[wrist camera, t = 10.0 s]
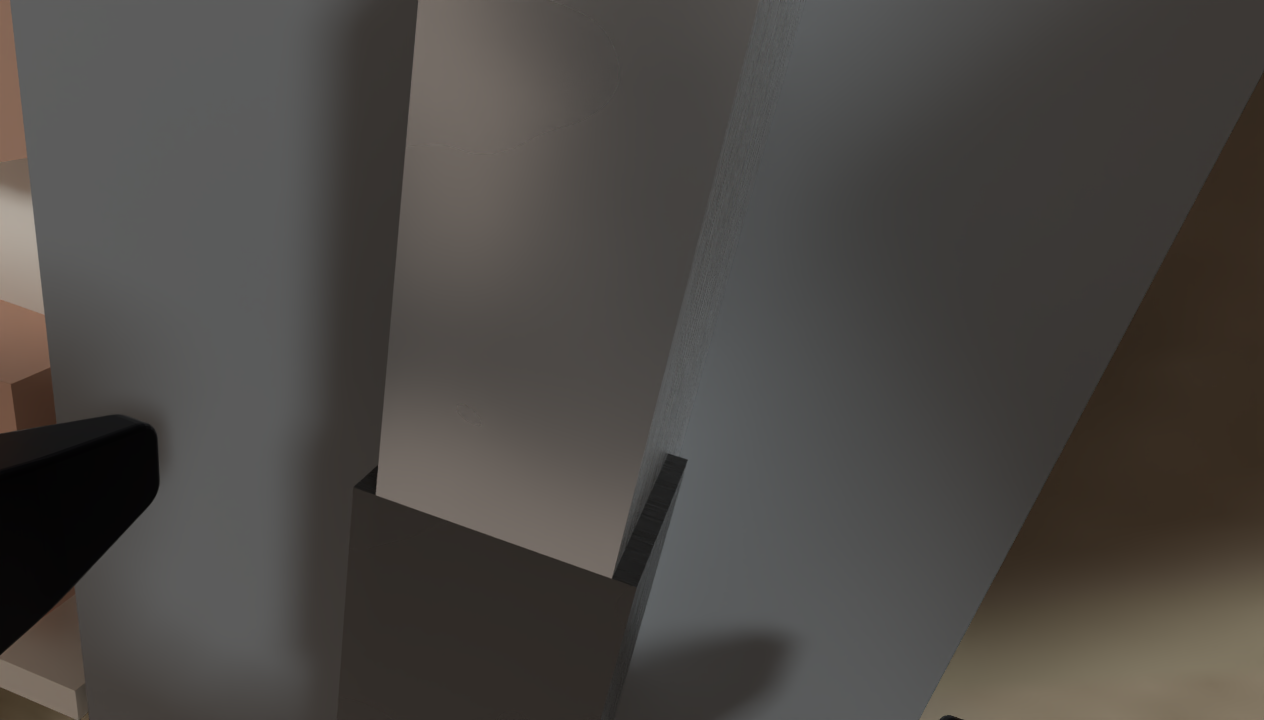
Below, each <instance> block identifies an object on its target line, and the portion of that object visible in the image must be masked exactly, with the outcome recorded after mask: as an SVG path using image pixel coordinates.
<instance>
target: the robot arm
mask: <svg viewBox="0 0 1264 720" xmlns="http://www.w3.org/2000/svg"><path fill="white" fill-rule="evenodd" d="M159 486H160V472H159V450H158V435H157V432H156V430H155V429H154V427H153V426H151V425H150V424H148V423H146V422H143V421H141V420H138V419H135V418H132V417H130V416H127V415H122V414H112V415H106V416H100V417H94V418H88V419H82V420H77V421H71V422H65V423H59V424H53V425H47V426H41V427H35V428H29V429H23V430H17V431H11V432H5V433H0V655H1V654H3V653H4V652H5V651H6V650H7V649H8V648H9V647H10V646H12V645H13V644H14V643H15V642H16V641H17V640H18V639H19V638H21V637H22V636H23V635H24V634H25V633H26V632H27V631H28V630H29V629H31V628H32V627H33V626H34V625H35V624H36V623H37V622H38V621H39V620H40V619H42V618H43V617H44V616H45V615H46V614H47V613H48V612H49V611H50V610H51V609H52V608H53V607H54V606H55V605H56V604H57V603H58V602H59V601H60V600H61V599H62V598H63V597H64V596H65V595H66V594H67V593H68V592H69V591H70V590H71V589H72V588H73V587H74V586H75V585H76V584H77V583H78V582H79V580H80V579H81V578H82V577H83V576H84V575H85V574H86V573H87V572H88V571H89V570H90V569H91V568H92V567H93V566H94V564H95V563H96V562H97V561H98V560H99V559H100V558H101V557H102V556H103V555H104V554H105V553H106V552H107V551H108V550H109V548H110V547H111V546H112V545H113V544H114V543H115V542H116V541H117V540H118V539H119V538H120V537H121V536H122V535H123V534H124V532H125V531H126V530H127V529H128V528H129V527H130V526H131V525H132V524H133V523H134V522H135V521H136V520H137V519H138V518H139V516H140V515H141V514H142V513H143V512H144V511H145V510H146V509H147V508H148V507H149V506H150V504H151V503H152V502H153V500H154V499H155V497H156V495H157V492H158V490H159ZM940 720H963V719H960V718H957V717H954V716H951V715H947V716H943V717H942V718H941V719H940Z"/></svg>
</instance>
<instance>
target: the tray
mask: <svg viewBox="0 0 1264 720" xmlns="http://www.w3.org/2000/svg"><path fill="white" fill-rule="evenodd" d="M0 299H1V300H3V301H6V302H9V303H12V304H15V305H18V306H21V307H23V308H26V309H29V310H32V311H35V312H38V313H41V314H43V315H45V314H44V305H43V296H42V286H41V277H40V268H39V259H38V250H37V241H36V232H35V223H34V214H33V205H32V196H31V187H30V178H29V168H28V159H27V158H24V159H17V160H11V161H5V162H0ZM0 687H1V688H4V689H6V690H8V691H11V692H13V693H15V694H18V695H20V696H22V697H25V698H27V699H29V700H31V701H34V702H36V703H38V704H41V705H43V706H45V707H48V708H50V709H52V710H55V711H57V712H59V713H62V714H64V715H66V716H69V717H71V718H73V719H76V720H80V719H81V718H82V717H84V716H85V715H86V714H87V713H88V704H87V695H86V686H85V677H84V668H83V659H82V649H81V640H80V631H79V622H78V613H77V604H76V595H74V596H72V597H71V598H69V599H68V600H67V601H65V602H64V603H63V604H61V605H60V606H58V607H57V608H56V609H54V610H53V611H51V612H50V613H49V614H47V615H46V616H45V617H43V618H42V619H40V620H39V621H38V622H37V623H36V624H35V625H34V626H33V627H32V628H31V629H29V630H28V631H27V632H26V633H25V634H24V635H23V636H22V637H21V638H19V639H18V640H17V641H16V642H15V643H14V644H13V645H12V646H10V647H9V648H8V649H7V650H6V651H5V652H4V653H3V654H1V655H0Z"/></svg>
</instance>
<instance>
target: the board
mask: <svg viewBox="0 0 1264 720" xmlns="http://www.w3.org/2000/svg"><path fill="white" fill-rule="evenodd" d="M10 5H11V14H12V23H13V32H14V41H15V50H16V60H17V69H18V78H19V87H20V96H21V105H22V114H23V123H24V132H25V141H26V150H27V159H28V168H29V178H30V187H31V196H32V205H33V214H34V223H35V232H36V241H37V250H38V259H39V268H40V277H41V286H42V296H43V305H44V314H45V323H46V332H47V341H48V350H49V359H50V368H51V377H52V386H53V395H54V404H55V413H56V423H57V424H59V423H65V422H71V421H77V420H82V419H88V418H94V417H100V416H106V415H112V414H122V415H127V416H130V417H132V418H135V419H138V420H141V421H143V422H146V423H148V424H150V425H151V426H153V427H154V429H155V430H156V432H157V435H158V450H159V472H160V486H159V490H158V492H157V495H156V497H155V499H154V500H153V502H152V503H151V504H150V506H149V507H148V508H147V509H146V510H145V511H144V512H143V513H142V514H141V515H140V516H139V518H138V519H137V520H136V521H135V522H134V523H133V524H132V525H131V526H130V527H129V528H128V529H127V530H126V531H125V532H124V534H123V535H122V536H121V537H120V538H119V539H118V540H117V541H116V542H115V543H114V544H113V545H112V546H111V547H110V548H109V550H108V551H107V552H106V553H105V554H104V555H103V556H102V557H101V558H100V559H99V560H98V561H97V562H96V563H95V564H94V566H93V567H92V568H91V569H90V570H89V571H88V572H87V573H86V574H85V575H84V576H83V577H82V578H81V579H80V580H79V582H78V583H77V584H76V585H75V595H76V604H77V613H78V622H79V631H80V640H81V649H82V659H83V668H84V677H85V686H86V695H87V704H88V713H89V720H337V709H338V695H339V681H340V667H341V653H342V639H343V625H344V611H345V597H346V582H347V568H348V554H349V540H350V526H351V512H352V498H353V487H354V486H355V485H356V484H357V483H358V482H360V481H361V480H362V479H363V478H364V477H365V476H366V475H367V474H368V473H369V472H371V471H372V470H373V469H374V468H375V467H376V466H377V465H378V463H379V451H380V439H381V428H382V416H383V405H384V393H385V381H386V370H387V358H388V347H389V335H390V323H391V312H392V300H393V289H394V277H395V265H396V254H397V242H398V231H399V219H400V207H401V196H402V184H403V173H404V161H405V149H406V138H407V126H408V115H409V103H410V91H411V80H412V68H413V57H414V45H415V33H416V22H417V10H418V0H10ZM1263 72H1264V0H805V3H804V6H803V10H802V13H801V17H800V21H799V24H798V28H797V31H796V35H795V39H794V42H793V46H792V49H791V53H790V57H789V60H788V64H787V67H786V71H785V75H784V78H783V82H782V85H781V89H780V93H779V96H778V100H777V103H776V107H775V111H774V114H773V118H772V121H771V125H770V129H769V132H768V136H767V139H766V143H765V147H764V150H763V154H762V157H761V161H760V165H759V168H758V172H757V175H756V179H755V183H754V186H753V190H752V193H751V197H750V201H749V204H748V208H747V211H746V215H745V219H744V222H743V226H742V229H741V233H740V237H739V240H738V244H737V247H736V251H735V255H734V258H733V262H732V265H731V269H730V273H729V276H728V280H727V283H726V287H725V291H724V294H723V298H722V301H721V305H720V309H719V312H718V316H717V319H716V323H715V327H714V330H713V334H712V337H711V341H710V345H709V348H708V352H707V355H706V359H705V363H704V366H703V370H702V374H701V377H700V381H699V384H698V388H697V392H696V395H695V399H694V402H693V406H692V410H691V413H690V417H689V420H688V424H687V428H686V431H685V435H684V438H683V442H682V446H681V449H680V453H679V456H678V457H681V458H684V459H688V461H687V465H686V468H685V472H684V475H683V479H682V482H681V486H680V489H679V493H678V496H677V500H676V504H675V507H674V511H673V514H672V518H671V521H670V525H669V528H668V532H667V535H666V539H665V542H664V546H663V549H662V553H661V556H660V560H659V563H658V567H657V570H656V574H655V577H654V581H653V584H652V588H651V591H650V595H649V599H648V602H647V606H646V609H645V613H644V616H643V620H642V623H641V627H640V630H639V634H638V637H637V641H636V644H635V648H634V651H633V655H632V658H631V662H630V665H629V669H628V672H627V676H626V679H625V683H624V686H623V690H622V693H621V697H620V701H619V704H618V708H617V711H616V715H615V718H614V720H919V719H920V717H921V715H922V713H923V711H924V709H925V707H926V706H927V704H928V702H929V700H930V698H931V696H932V694H933V692H934V691H935V689H936V687H937V685H938V683H939V681H940V679H941V677H942V675H943V674H944V672H945V670H946V668H947V666H948V664H949V662H950V660H951V659H952V657H953V655H954V653H955V651H956V649H957V647H958V645H959V644H960V642H961V640H962V638H963V636H964V634H965V632H966V630H967V628H968V627H969V625H970V623H971V621H972V619H973V617H974V615H975V613H976V612H977V610H978V608H979V606H980V604H981V602H982V600H983V598H984V597H985V595H986V593H987V591H988V589H989V587H990V585H991V583H992V581H993V580H994V578H995V576H996V574H997V572H998V570H999V568H1000V566H1001V565H1002V563H1003V561H1004V559H1005V557H1006V555H1007V553H1008V551H1009V550H1010V548H1011V546H1012V544H1013V542H1014V540H1015V538H1016V536H1017V534H1018V533H1019V531H1020V529H1021V527H1022V525H1023V523H1024V521H1025V519H1026V518H1027V516H1028V514H1029V512H1030V510H1031V508H1032V506H1033V504H1034V503H1035V501H1036V499H1037V497H1038V495H1039V493H1040V491H1041V489H1042V488H1043V486H1044V484H1045V482H1046V480H1047V478H1048V476H1049V474H1050V472H1051V471H1052V469H1053V467H1054V465H1055V463H1056V461H1057V459H1058V457H1059V456H1060V454H1061V452H1062V450H1063V448H1064V446H1065V444H1066V442H1067V441H1068V439H1069V437H1070V435H1071V433H1072V431H1073V429H1074V427H1075V425H1076V424H1077V422H1078V420H1079V418H1080V416H1081V414H1082V412H1083V410H1084V409H1085V407H1086V405H1087V403H1088V401H1089V399H1090V397H1091V395H1092V394H1093V392H1094V390H1095V388H1096V386H1097V384H1098V382H1099V380H1100V378H1101V377H1102V375H1103V373H1104V371H1105V369H1106V367H1107V365H1108V363H1109V362H1110V360H1111V358H1112V356H1113V354H1114V352H1115V350H1116V348H1117V347H1118V345H1119V343H1120V341H1121V339H1122V337H1123V335H1124V333H1125V331H1126V330H1127V328H1128V326H1129V324H1130V322H1131V320H1132V318H1133V316H1134V315H1135V313H1136V311H1137V309H1138V307H1139V305H1140V303H1141V301H1142V300H1143V298H1144V296H1145V294H1146V292H1147V290H1148V288H1149V286H1150V284H1151V283H1152V281H1153V279H1154V277H1155V275H1156V273H1157V271H1158V269H1159V268H1160V266H1161V264H1162V262H1163V260H1164V258H1165V256H1166V254H1167V253H1168V251H1169V249H1170V247H1171V245H1172V243H1173V241H1174V239H1175V237H1176V236H1177V234H1178V232H1179V230H1180V228H1181V226H1182V224H1183V222H1184V221H1185V219H1186V217H1187V215H1188V213H1189V211H1190V209H1191V207H1192V206H1193V204H1194V202H1195V200H1196V198H1197V196H1198V194H1199V192H1200V190H1201V189H1202V187H1203V185H1204V183H1205V181H1206V179H1207V177H1208V175H1209V174H1210V172H1211V170H1212V168H1213V166H1214V164H1215V162H1216V160H1217V159H1218V157H1219V155H1220V153H1221V151H1222V149H1223V147H1224V145H1225V144H1226V142H1227V140H1228V138H1229V136H1230V134H1231V132H1232V130H1233V128H1234V127H1235V125H1236V123H1237V121H1238V119H1239V117H1240V115H1241V113H1242V112H1243V110H1244V108H1245V106H1246V104H1247V102H1248V100H1249V98H1250V97H1251V95H1252V93H1253V91H1254V89H1255V87H1256V85H1257V83H1258V81H1259V80H1260V78H1261V76H1262V74H1263Z"/></svg>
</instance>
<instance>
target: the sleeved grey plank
mask: <svg viewBox="0 0 1264 720" xmlns="http://www.w3.org/2000/svg"><path fill="white" fill-rule="evenodd" d="M804 3H805V0H418V10H417V22H416V33H415V45H414V57H413V68H412V80H411V91H410V103H409V115H408V126H407V138H406V149H405V161H404V173H403V184H402V196H401V207H400V219H399V231H398V242H397V254H396V265H395V277H394V289H393V300H392V312H391V323H390V335H389V347H388V358H387V370H386V381H385V393H384V405H383V416H382V428H381V439H380V451H379V463H378V465H377V466H376V467H375V468H374V469H373V470H372V471H371V472H369V473H368V474H367V475H366V476H365V477H364V478H363V479H362V480H361V481H360V482H358V483H357V484H356V485H355V486H354V487H353V498H352V512H351V526H350V540H349V554H348V568H347V582H346V597H345V611H344V625H343V639H342V653H341V667H340V681H339V695H338V709H337V720H614V718H615V715H616V711H617V708H618V704H619V701H620V697H621V693H622V690H623V686H624V683H625V679H626V676H627V672H628V669H629V665H630V662H631V658H632V655H633V651H634V648H635V644H636V641H637V637H638V634H639V630H640V627H641V623H642V620H643V616H644V613H645V609H646V606H647V602H648V599H649V595H650V591H651V588H652V584H653V581H654V577H655V574H656V570H657V567H658V563H659V560H660V556H661V553H662V549H663V546H664V542H665V539H666V535H667V532H668V528H669V525H670V521H671V518H672V514H673V511H674V507H675V504H676V500H677V496H678V493H679V489H680V486H681V482H682V479H683V475H684V472H685V468H686V465H687V461H688V459H684V458H681V457H678V456H679V453H680V449H681V446H682V442H683V438H684V435H685V431H686V428H687V424H688V420H689V417H690V413H691V410H692V406H693V402H694V399H695V395H696V392H697V388H698V384H699V381H700V377H701V374H702V370H703V366H704V363H705V359H706V355H707V352H708V348H709V345H710V341H711V337H712V334H713V330H714V327H715V323H716V319H717V316H718V312H719V309H720V305H721V301H722V298H723V294H724V291H725V287H726V283H727V280H728V276H729V273H730V269H731V265H732V262H733V258H734V255H735V251H736V247H737V244H738V240H739V237H740V233H741V229H742V226H743V222H744V219H745V215H746V211H747V208H748V204H749V201H750V197H751V193H752V190H753V186H754V183H755V179H756V175H757V172H758V168H759V165H760V161H761V157H762V154H763V150H764V147H765V143H766V139H767V136H768V132H769V129H770V125H771V121H772V118H773V114H774V111H775V107H776V103H777V100H778V96H779V93H780V89H781V85H782V82H783V78H784V75H785V71H786V67H787V64H788V60H789V57H790V53H791V49H792V46H793V42H794V39H795V35H796V31H797V28H798V24H799V21H800V17H801V13H802V10H803V6H804Z"/></svg>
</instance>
